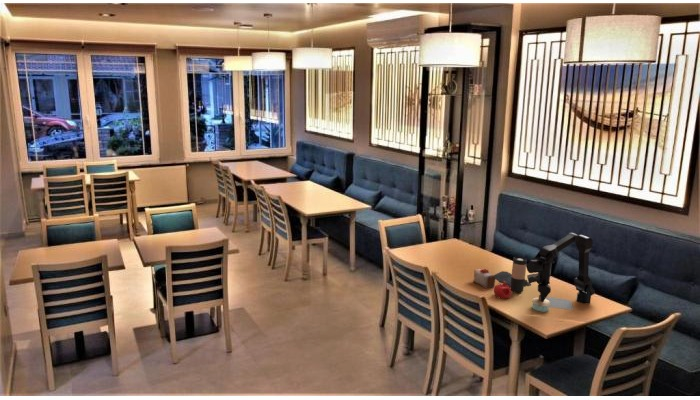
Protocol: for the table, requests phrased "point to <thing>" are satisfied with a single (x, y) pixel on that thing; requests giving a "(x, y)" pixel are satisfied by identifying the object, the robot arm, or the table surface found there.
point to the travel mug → (518, 274)
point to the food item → (484, 278)
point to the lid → (538, 301)
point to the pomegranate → (502, 290)
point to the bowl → (540, 308)
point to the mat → (560, 303)
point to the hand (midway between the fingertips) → (541, 298)
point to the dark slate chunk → (507, 278)
